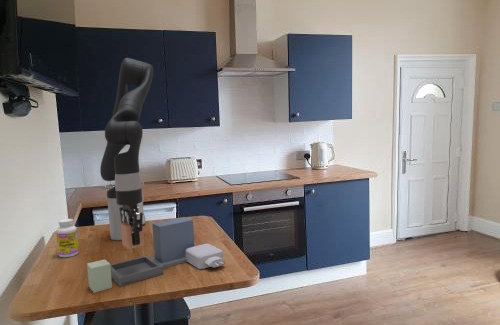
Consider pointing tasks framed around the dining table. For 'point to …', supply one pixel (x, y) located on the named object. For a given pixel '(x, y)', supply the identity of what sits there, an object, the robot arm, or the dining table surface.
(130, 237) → the terracotta block
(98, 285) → the sage block
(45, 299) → the dining table surface
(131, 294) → the dining table surface
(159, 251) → the block
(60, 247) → the supplement bottle
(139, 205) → the plastic bottle
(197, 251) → the charger
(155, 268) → the tray
